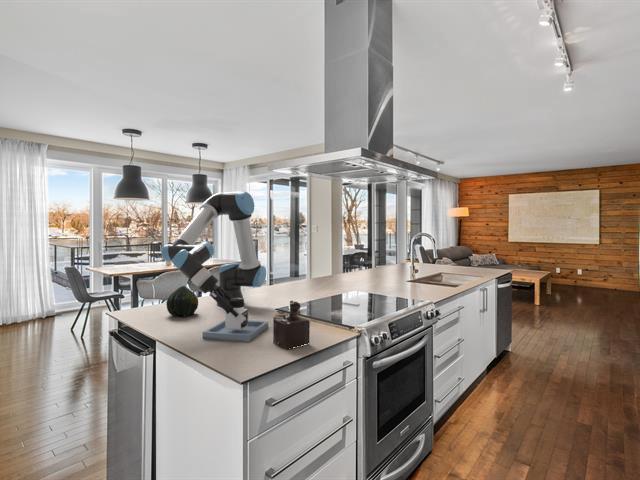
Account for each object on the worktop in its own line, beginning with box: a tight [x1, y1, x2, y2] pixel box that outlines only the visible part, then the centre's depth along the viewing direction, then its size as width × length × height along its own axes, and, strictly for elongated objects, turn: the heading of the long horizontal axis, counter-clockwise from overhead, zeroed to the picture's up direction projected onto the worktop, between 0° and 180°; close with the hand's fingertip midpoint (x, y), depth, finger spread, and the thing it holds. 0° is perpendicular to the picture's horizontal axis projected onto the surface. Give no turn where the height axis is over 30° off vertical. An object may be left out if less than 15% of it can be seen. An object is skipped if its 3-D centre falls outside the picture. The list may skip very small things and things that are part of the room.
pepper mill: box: [272, 300, 311, 350], centre depth 136 cm, size 16×11×18 cm
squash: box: [165, 285, 199, 318], centre depth 183 cm, size 14×15×15 cm
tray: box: [202, 319, 269, 343], centre depth 152 cm, size 20×20×3 cm
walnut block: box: [272, 313, 288, 321], centre depth 162 cm, size 6×6×5 cm
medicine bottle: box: [224, 298, 249, 330], centre depth 152 cm, size 7×7×12 cm
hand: (244, 317), depth 153 cm, fingers closed on medicine bottle, 9 cm apart
